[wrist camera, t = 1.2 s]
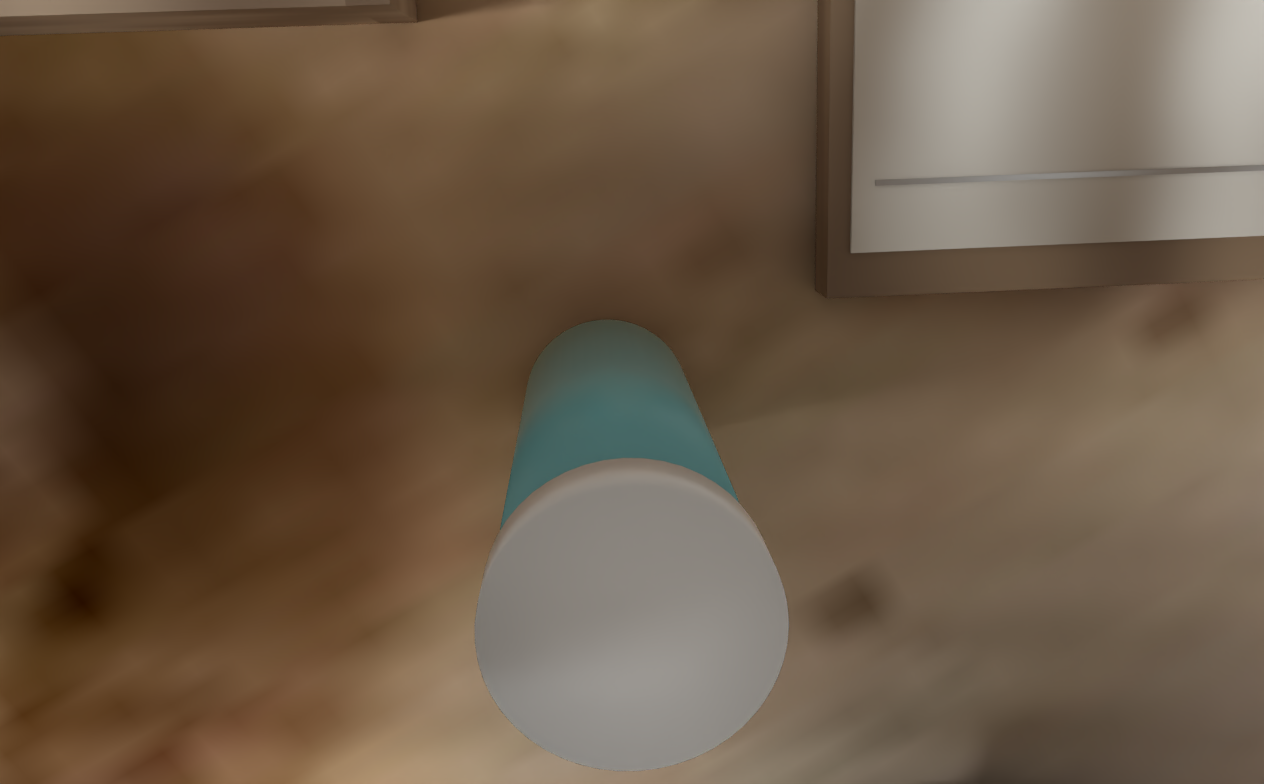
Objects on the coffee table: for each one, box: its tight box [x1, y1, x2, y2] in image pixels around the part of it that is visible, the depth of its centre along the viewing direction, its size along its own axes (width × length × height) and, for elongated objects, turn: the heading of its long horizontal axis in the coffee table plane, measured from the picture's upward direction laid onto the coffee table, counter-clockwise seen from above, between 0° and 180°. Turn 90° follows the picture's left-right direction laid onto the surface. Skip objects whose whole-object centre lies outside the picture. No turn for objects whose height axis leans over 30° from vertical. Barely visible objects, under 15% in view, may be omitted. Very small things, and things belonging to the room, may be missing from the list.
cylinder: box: [475, 320, 789, 771], centre depth 19 cm, size 4×4×12 cm
